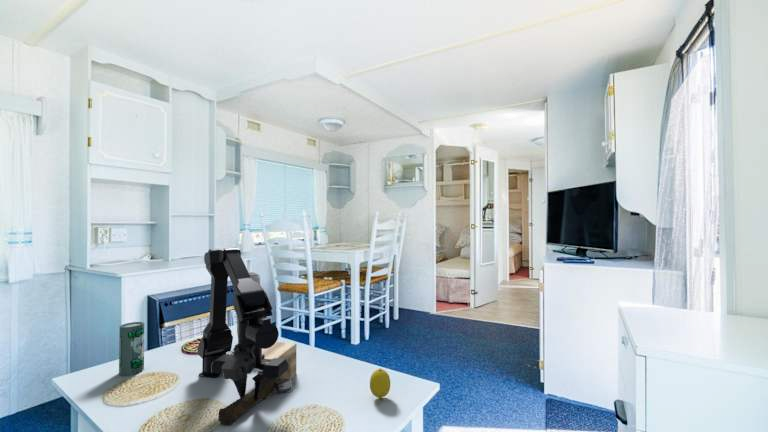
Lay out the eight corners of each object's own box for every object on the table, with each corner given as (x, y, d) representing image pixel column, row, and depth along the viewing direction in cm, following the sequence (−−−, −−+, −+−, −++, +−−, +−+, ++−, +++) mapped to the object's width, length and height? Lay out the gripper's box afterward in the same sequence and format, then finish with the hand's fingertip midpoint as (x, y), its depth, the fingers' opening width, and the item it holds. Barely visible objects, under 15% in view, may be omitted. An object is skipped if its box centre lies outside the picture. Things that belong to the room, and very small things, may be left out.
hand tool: (230, 428, 78) (230, 408, 78) (217, 424, 80) (217, 404, 80) (283, 391, 96) (283, 374, 96) (272, 388, 97) (272, 372, 97)
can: (139, 374, 107) (140, 326, 107) (116, 377, 105) (117, 328, 105) (145, 366, 113) (146, 321, 113) (123, 369, 110) (124, 323, 111)
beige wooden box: (239, 390, 96) (239, 356, 96) (264, 371, 108) (264, 341, 109) (275, 394, 94) (275, 359, 94) (296, 373, 106) (296, 343, 106)
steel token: (273, 393, 94) (272, 385, 94) (278, 385, 99) (278, 378, 99) (288, 393, 94) (288, 386, 94) (293, 385, 98) (293, 378, 98)
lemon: (383, 406, 87) (383, 374, 87) (365, 400, 90) (365, 370, 90) (394, 396, 92) (394, 367, 92) (377, 391, 95) (377, 362, 95)
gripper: (195, 346, 81) (194, 412, 81) (266, 352, 77) (265, 421, 77) (225, 332, 92) (225, 390, 92) (289, 336, 88) (289, 397, 88)
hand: (249, 399), depth 87 cm, fingers open, 4 cm apart
